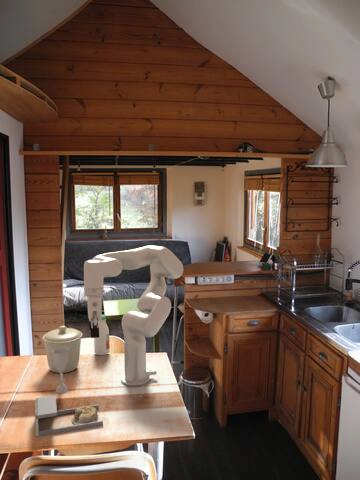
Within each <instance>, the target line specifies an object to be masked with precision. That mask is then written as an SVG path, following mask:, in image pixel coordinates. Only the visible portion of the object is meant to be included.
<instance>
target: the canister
mask: <svg viewBox="0 0 360 480" xmlns="http://www.w3.org/2000/svg"><path fill="white" fill-rule="evenodd" d="M82 337H83V332H82V331H80V330H78V329H76V328H72V327H67V326H66V325H60V326H59V327H58V328H56V329H55V328H54V329H52V330H49V331H48V332H46V333H45V334H44V335H43V336H42V340H43V341H44V347H45V352H46V354H45V355H46V359H47V364H48V367H49V369H50V370H51V372H52V373H53V372H54V373H56V374H60V371H58V370H57V368H56V366H55V364H54V358H53V352H52V350H53V349H54V348H57V347H68V348H69V350H68V362H67V365H66V367H65V370H64V371H62V373H63V374H65V373H70V372H73V371H74V370H76V369H77V367H78V366H79V364H80V363H79V362H80V355H81V343H82Z"/></svg>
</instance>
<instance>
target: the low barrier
mask: <svg viewBox="0 0 360 480" xmlns="http://www.w3.org/2000/svg"><path fill="white" fill-rule="evenodd" d="M34 405H35V406H34V410H35V412H34V413H35V414H34V417H35V419H34V420H35V436H36V437H41V436H47V435H53V434H59V433H65V432H71V431H76V430H82V429H88V428H94V427H100V426H104V420H97V421H96V422H91V423H85V424H78V423H77V424H78V425H75V424H74V425H67V426H62V427H61V426H60V427H55V428H49V429H43V430H39V429H40V428H39V427H40V426H39V424H40V423H39V419H43V418H51V417H57V416H60V415H67V414H73V413H74V414H75V410H76V409H77V408H79V407H80V406H79V407H73V408H67V409H66V408H65V409H59V410H57V409H58V408H57V407H58V406H57V397H56V395H50V396H44V397H37V398H35V404H34ZM90 406H91V407H92V406H93V407H94V408H96V410H99V409H100V407H99V404H92V405H90Z"/></svg>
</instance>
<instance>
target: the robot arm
mask: <svg viewBox="0 0 360 480" xmlns="http://www.w3.org/2000/svg"><path fill="white" fill-rule="evenodd" d="M146 266H149V269H150V281H149V284H148V285H147V288H146V289H145V290H144V291H143V293H142V294H141V296H140V297H139V299H138V301H137V302H136V303H137V304H136V308H137V310H138V311H137V310H129V311H127V312H125V313H124V314H123V316H122V318H121V327H122V328H121V329H122V333H123V339H124V340H123V341H124V343H123V345H124V346H123V348H124V350H123V351H124V374H122V376H121V381H120V382H122V384H124V385H126V386H128V387H129V386H131V387H136V386H137V387H138V386H143V385H145V384H148V382H149V381H150V377H151V376H154V375H157V373H158V372H157V370H156V369H155V370H153V368H149V369H148V368H147V349H146V348H147V342H146V338H152V337H154V336H155V335H157V333H159V331H160V329H161V328H162V326H163V324H164V323H165V322H166V319H167V318H168V317H169V315H170V313H171V309H172V302H171V299H170V298H169V297H167V296H165V294H166V291H167V287H168V286H167V283H166V279H165V278H169V279H178V278H180V277H181V276H183V273H184V264H183V262H182V261H181V260H180V258H178V257H177V256H176V255H175V254H174V253H173V252H172V251H171V250H170V249H169V248H167V247H166V246H159V245H151V244H150V245H145V246H142V247H141V246H140V247H137V248H133V249H128V250H120V251H114V252H112V251H111V252H106V253H102V254H98V255H95V256H94V257H92V259H88V260H85V261H84V264H83V290H84V291H83V292H84V293H83V296H84V297H87V298H86V299H87V303H86V304H87V316H88V321H89V330H90V338H91V339H94V338H99V323H98V320H99V321H102V315H103V313H102V309H103V308H102V307H103V305H102V296H104V290H105V289H104V278H113V277H118V276H120V274H121V273H122V271H123V270H125V271H126V270H129V271H130V270H137V269H140V268H144V267H146Z"/></svg>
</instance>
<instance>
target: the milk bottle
mask: <svg viewBox="0 0 360 480" xmlns="http://www.w3.org/2000/svg"><path fill="white" fill-rule="evenodd" d="M106 318H107V316H106V314H102V321H99V320H98V323H99V338H93V340H94V354H95V355H97V356H105V355H108V354H109V353H110V347H111V345H110V329H109V327H108V325H107V324H108V323H107V321H106V320H107V319H106Z"/></svg>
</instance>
